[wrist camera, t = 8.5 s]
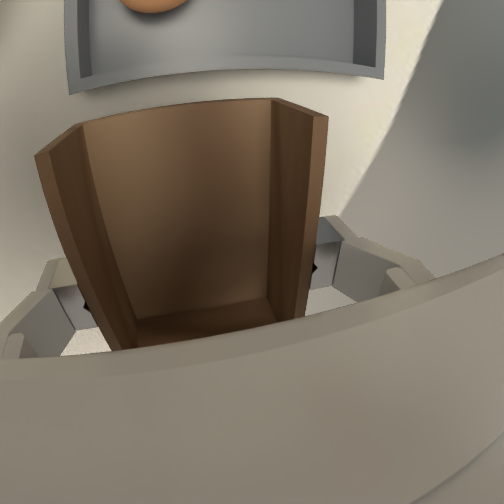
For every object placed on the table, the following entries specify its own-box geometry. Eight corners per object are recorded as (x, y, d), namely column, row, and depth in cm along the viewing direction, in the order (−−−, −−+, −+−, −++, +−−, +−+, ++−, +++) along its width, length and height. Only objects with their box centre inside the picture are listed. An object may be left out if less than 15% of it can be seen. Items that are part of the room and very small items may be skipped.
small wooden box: (131, 319, 13) (131, 384, 10) (75, 123, 8) (34, 156, 5) (271, 294, 15) (297, 353, 12) (277, 97, 9) (328, 116, 6)
